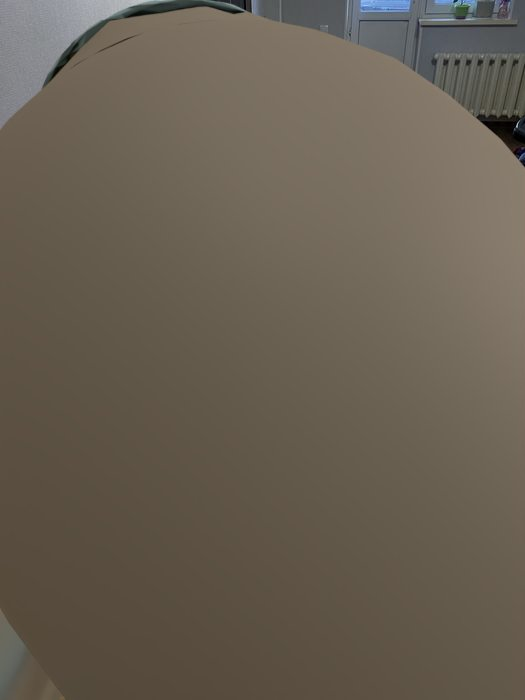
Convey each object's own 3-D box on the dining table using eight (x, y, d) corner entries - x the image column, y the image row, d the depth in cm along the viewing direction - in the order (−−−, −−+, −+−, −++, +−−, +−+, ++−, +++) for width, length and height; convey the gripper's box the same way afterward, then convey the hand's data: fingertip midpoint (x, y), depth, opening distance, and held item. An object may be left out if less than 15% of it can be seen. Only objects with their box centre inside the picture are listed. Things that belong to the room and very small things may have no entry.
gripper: (399, 708, 43) (174, 590, 52) (449, 521, 57) (266, 454, 66) (411, 667, 39) (163, 546, 48) (462, 476, 53) (264, 411, 62)
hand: (223, 493), depth 57 cm, fingers closed on can, 7 cm apart
